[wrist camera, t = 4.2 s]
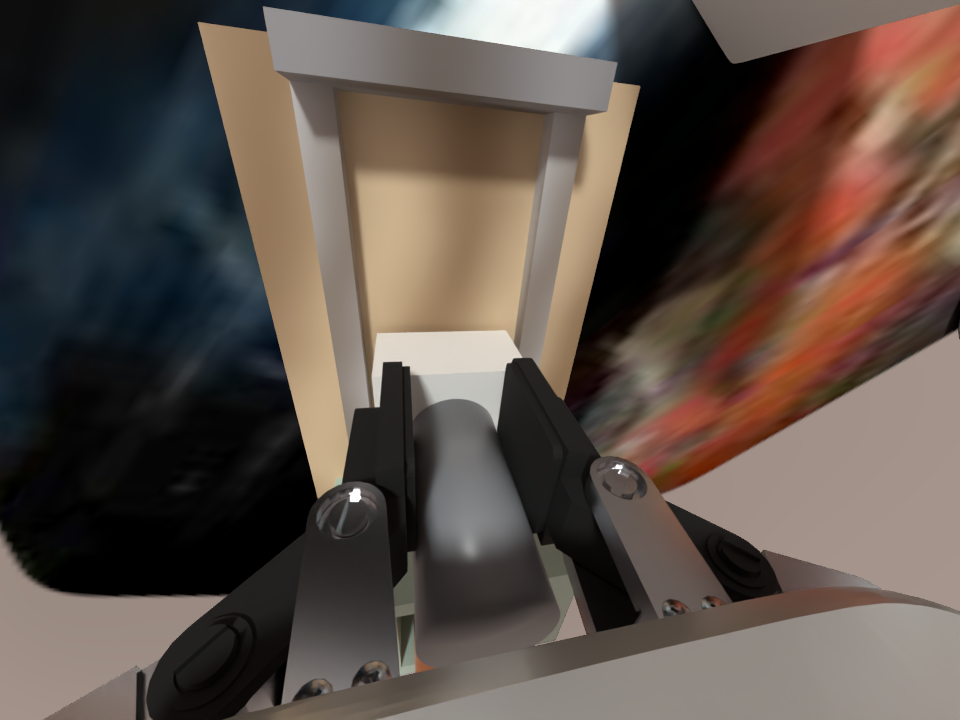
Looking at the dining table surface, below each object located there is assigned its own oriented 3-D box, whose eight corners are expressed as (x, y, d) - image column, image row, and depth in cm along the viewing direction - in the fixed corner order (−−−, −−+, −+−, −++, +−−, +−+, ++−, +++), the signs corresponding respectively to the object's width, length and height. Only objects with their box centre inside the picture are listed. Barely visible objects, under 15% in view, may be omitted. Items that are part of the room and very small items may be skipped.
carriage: (505, 330, 14) (635, 543, 6) (494, 425, 16) (576, 659, 9) (376, 333, 13) (344, 594, 5) (385, 433, 15) (373, 709, 8)
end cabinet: (524, 438, 20) (583, 571, 13) (512, 505, 23) (555, 640, 16) (332, 456, 18) (295, 624, 11) (346, 527, 21) (323, 692, 14)
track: (614, 93, 12) (685, 73, 9) (526, 503, 23) (545, 555, 20) (224, 39, 9) (145, -13, 6) (335, 529, 20) (325, 592, 18)
